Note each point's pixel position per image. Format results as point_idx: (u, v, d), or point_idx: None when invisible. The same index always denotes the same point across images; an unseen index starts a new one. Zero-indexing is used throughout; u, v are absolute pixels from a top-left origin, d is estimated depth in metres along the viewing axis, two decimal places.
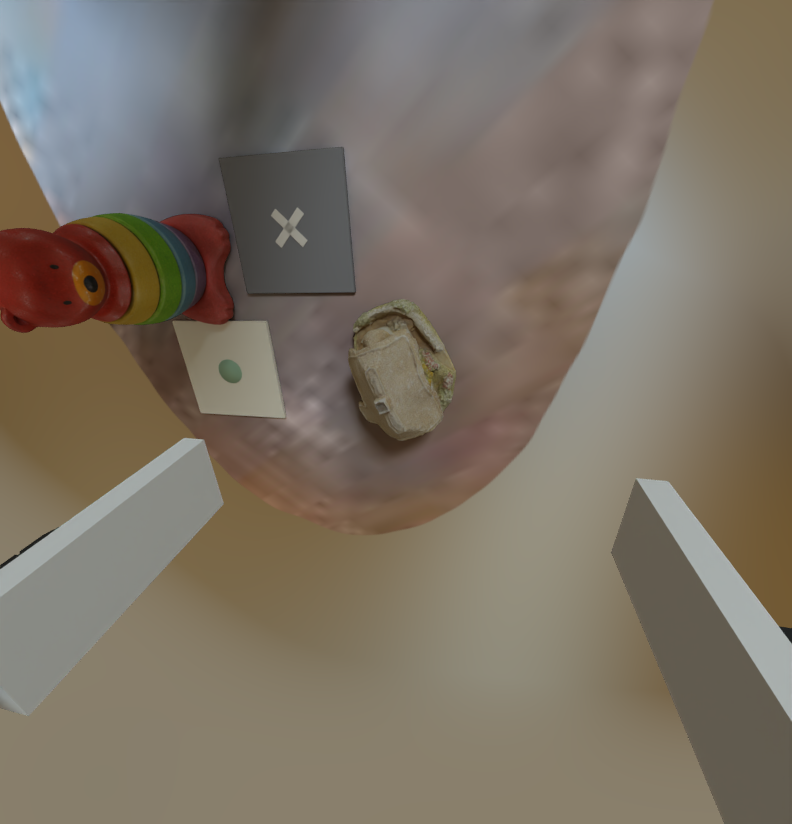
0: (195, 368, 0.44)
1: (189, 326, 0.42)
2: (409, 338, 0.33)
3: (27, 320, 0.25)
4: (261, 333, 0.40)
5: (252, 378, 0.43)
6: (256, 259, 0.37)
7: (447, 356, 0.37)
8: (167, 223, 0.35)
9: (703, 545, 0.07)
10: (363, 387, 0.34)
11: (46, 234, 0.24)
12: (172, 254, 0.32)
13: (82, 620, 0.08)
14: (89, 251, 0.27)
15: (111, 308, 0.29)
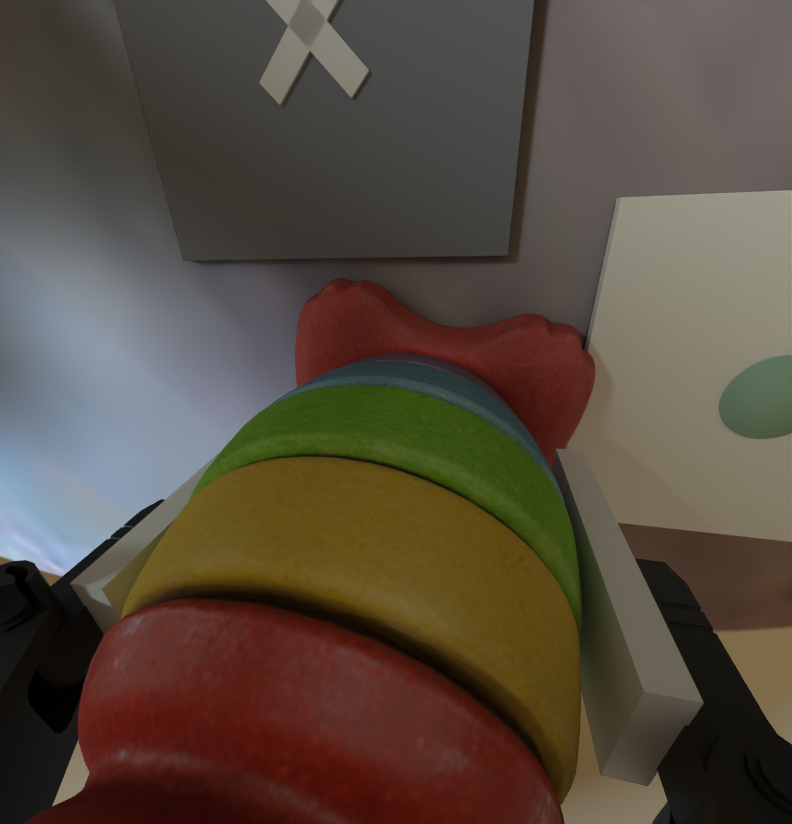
0: (713, 508, 0.14)
1: None
2: None
3: None
4: (664, 227, 0.10)
5: None
6: (405, 193, 0.11)
7: None
8: None
9: (594, 498, 0.09)
10: None
11: None
12: None
13: None
14: (99, 762, 0.04)
15: None
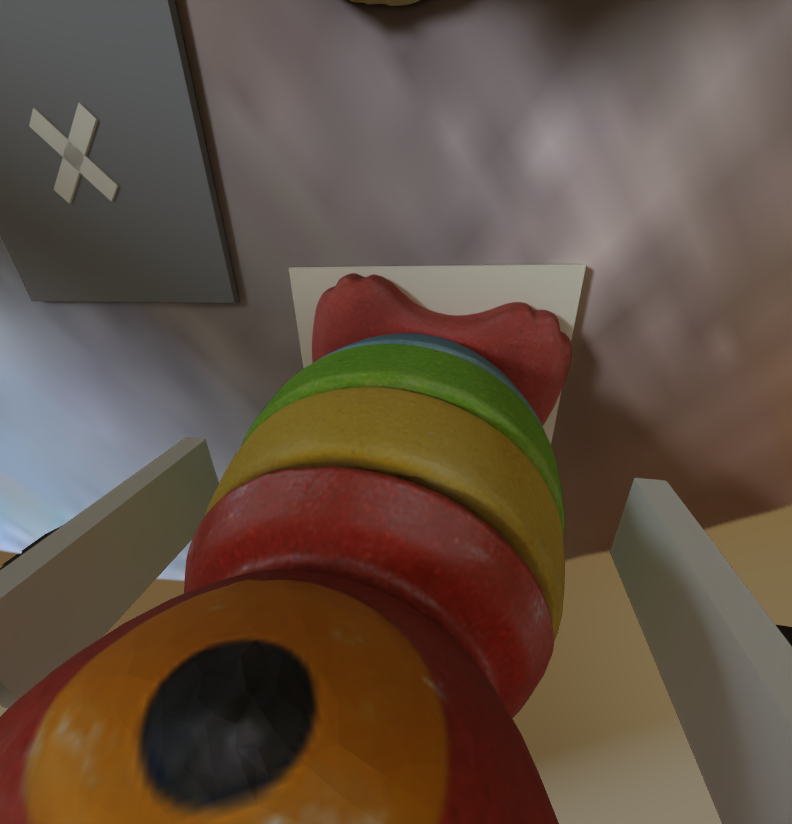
0: None
1: None
2: None
3: None
4: (319, 287, 0.16)
5: None
6: (161, 261, 0.17)
7: None
8: None
9: (700, 544, 0.07)
10: None
11: None
12: (345, 351, 0.10)
13: (84, 619, 0.08)
14: None
15: (494, 612, 0.05)
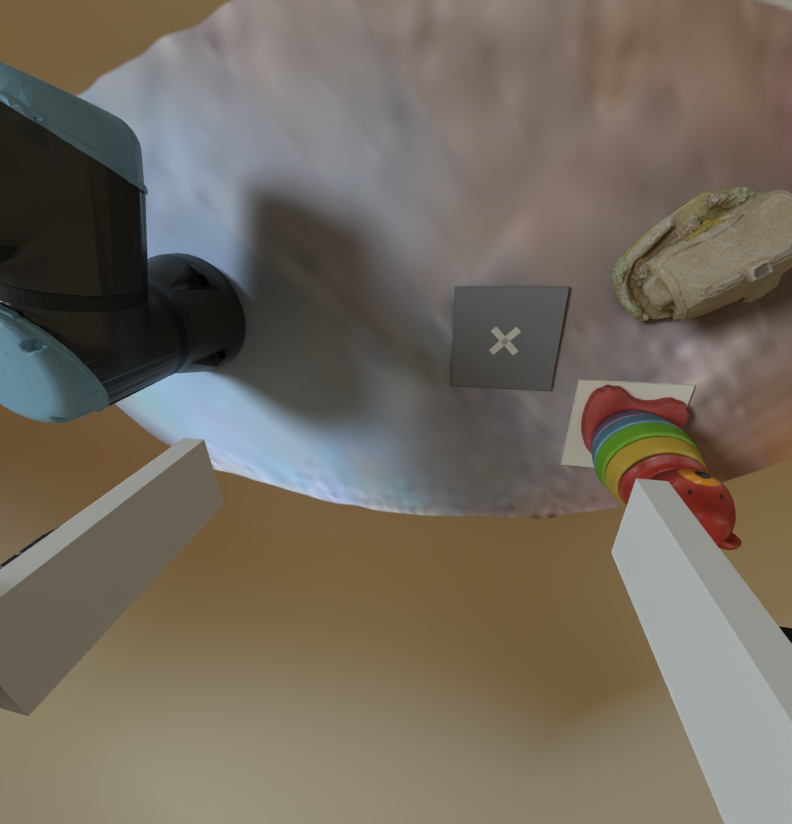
0: None
1: (569, 451, 0.47)
2: (661, 258, 0.32)
3: (730, 532, 0.29)
4: (590, 387, 0.43)
5: None
6: (523, 375, 0.44)
7: (679, 210, 0.33)
8: (591, 430, 0.43)
9: (703, 545, 0.07)
10: (726, 298, 0.31)
11: None
12: (642, 423, 0.36)
13: (82, 620, 0.08)
14: (654, 473, 0.33)
15: None
